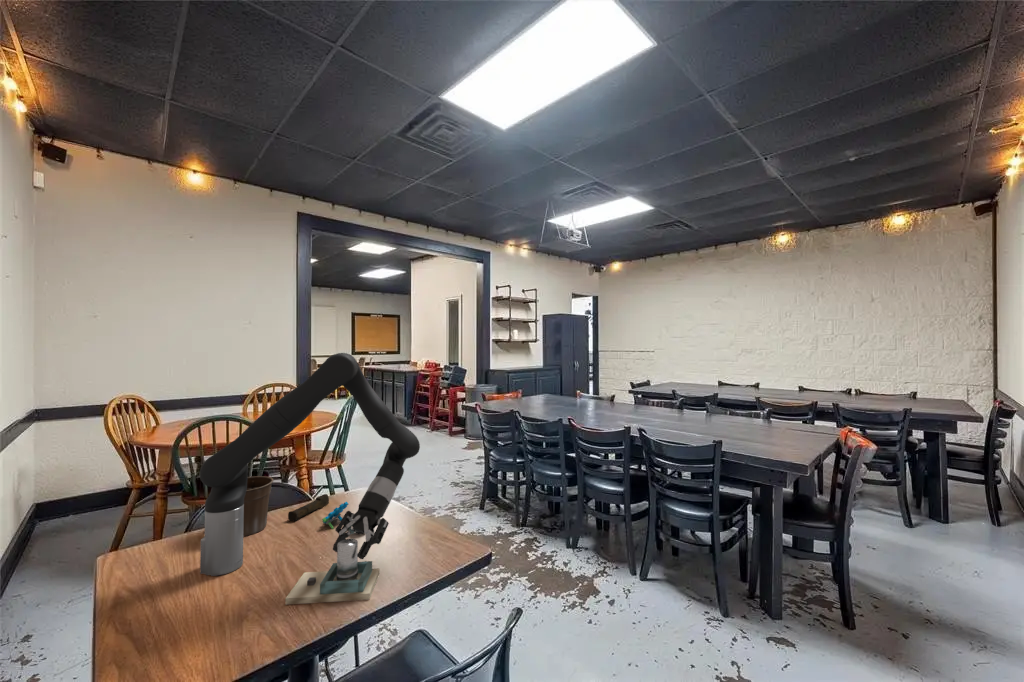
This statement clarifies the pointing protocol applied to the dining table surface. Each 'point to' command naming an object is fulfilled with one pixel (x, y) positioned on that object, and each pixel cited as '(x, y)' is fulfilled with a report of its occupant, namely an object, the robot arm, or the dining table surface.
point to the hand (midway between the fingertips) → (347, 554)
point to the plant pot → (256, 504)
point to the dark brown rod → (308, 508)
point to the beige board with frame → (334, 586)
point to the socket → (347, 560)
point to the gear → (335, 514)
